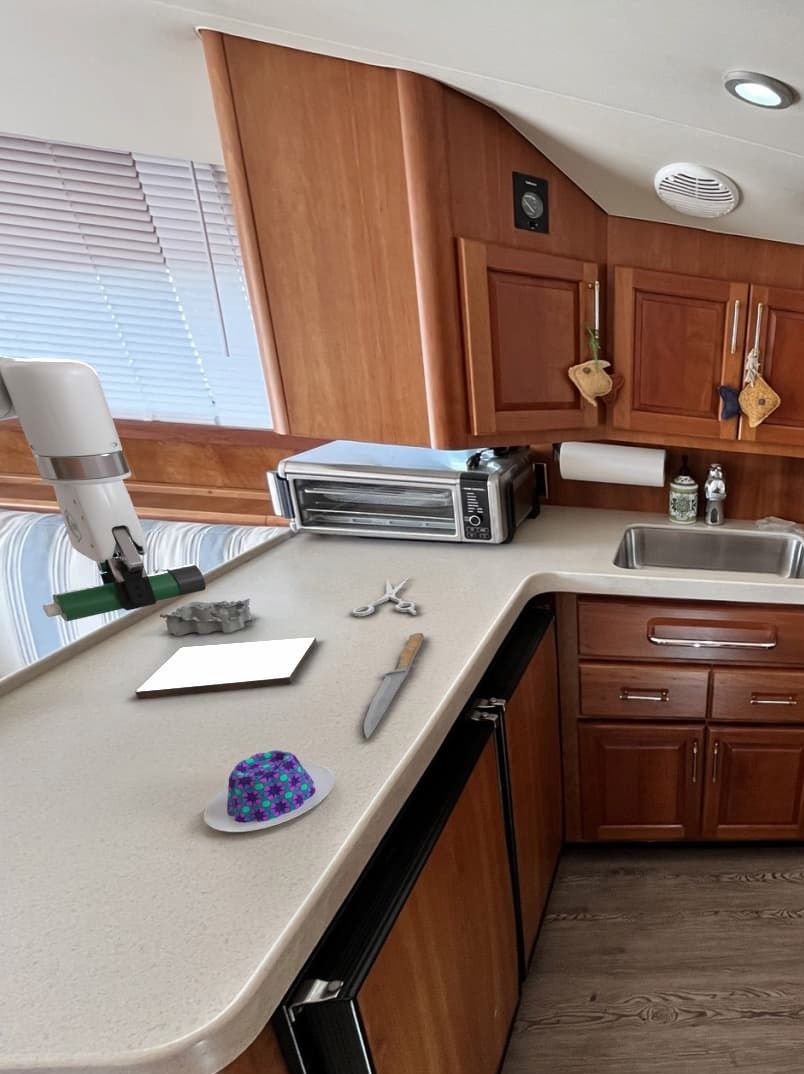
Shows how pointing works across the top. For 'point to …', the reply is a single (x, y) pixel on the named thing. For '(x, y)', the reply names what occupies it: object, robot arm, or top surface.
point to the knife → (391, 684)
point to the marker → (107, 598)
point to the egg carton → (208, 617)
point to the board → (229, 667)
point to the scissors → (388, 596)
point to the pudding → (267, 792)
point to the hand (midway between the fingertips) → (133, 601)
